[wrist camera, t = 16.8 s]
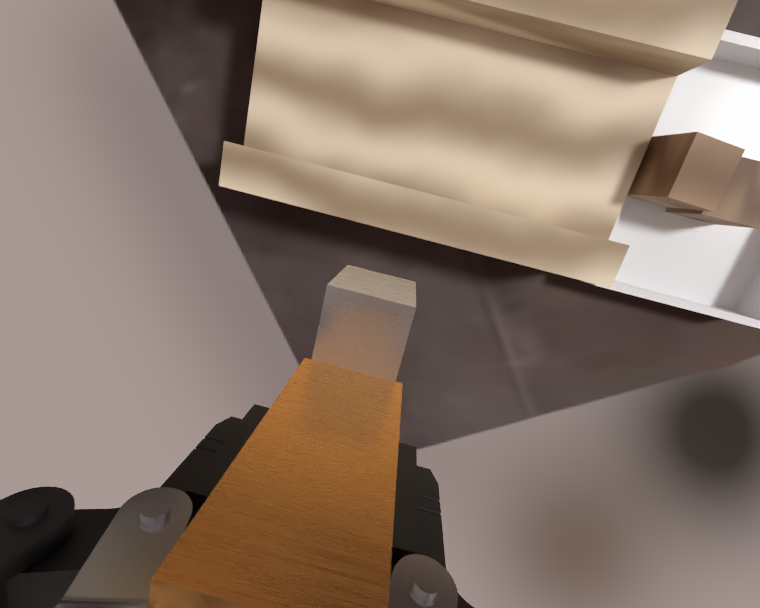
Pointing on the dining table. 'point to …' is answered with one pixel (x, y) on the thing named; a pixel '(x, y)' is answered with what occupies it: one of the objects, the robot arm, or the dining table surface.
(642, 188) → the brown wooden cube
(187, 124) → the dining table surface
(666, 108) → the tray
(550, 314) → the dining table surface
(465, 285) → the dining table surface
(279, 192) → the channel board
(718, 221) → the brown cube
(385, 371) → the scraper
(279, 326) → the dining table surface
